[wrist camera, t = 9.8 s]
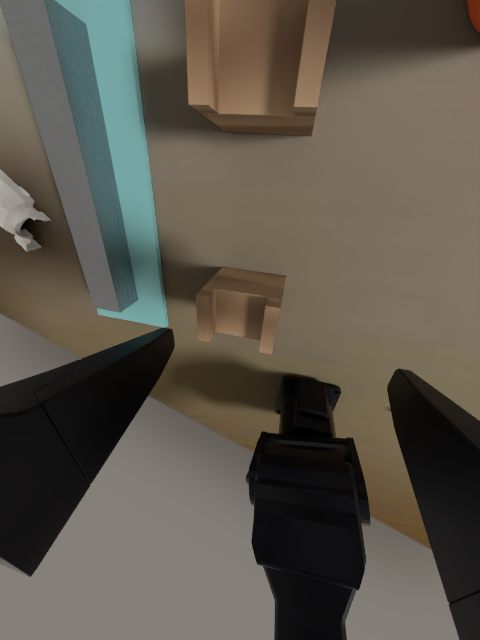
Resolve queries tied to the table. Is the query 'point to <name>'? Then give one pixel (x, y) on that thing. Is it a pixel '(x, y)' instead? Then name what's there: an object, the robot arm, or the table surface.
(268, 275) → the stand
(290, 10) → the stand
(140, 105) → the mat
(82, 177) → the rail
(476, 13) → the coffee cup
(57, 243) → the table surface
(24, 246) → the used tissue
